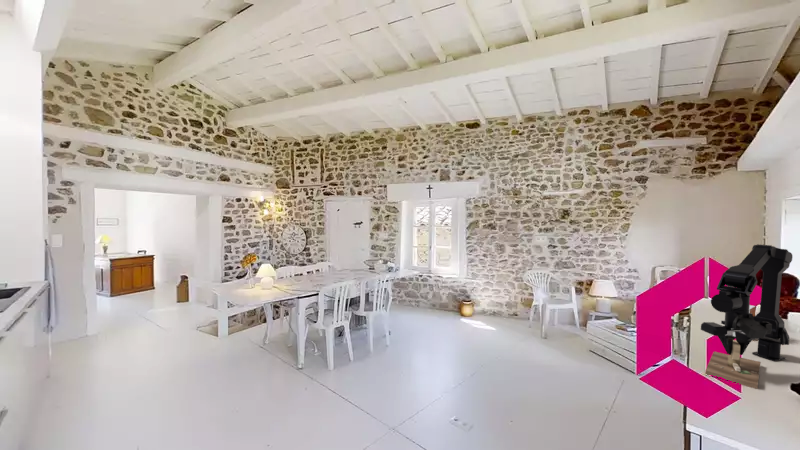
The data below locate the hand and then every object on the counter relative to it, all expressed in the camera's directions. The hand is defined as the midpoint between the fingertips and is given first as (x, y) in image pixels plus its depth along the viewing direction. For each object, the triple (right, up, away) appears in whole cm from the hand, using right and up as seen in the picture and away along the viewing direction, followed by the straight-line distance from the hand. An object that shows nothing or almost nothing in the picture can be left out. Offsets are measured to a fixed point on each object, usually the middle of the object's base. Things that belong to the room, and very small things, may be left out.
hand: (734, 354), depth 118 cm
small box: (+33, -4, +32) cm, 46 cm away
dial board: (0, -6, 0) cm, 6 cm away
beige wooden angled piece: (-1, -4, -1) cm, 4 cm away
